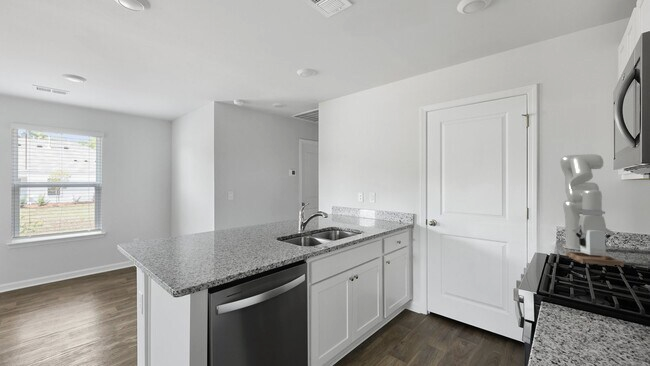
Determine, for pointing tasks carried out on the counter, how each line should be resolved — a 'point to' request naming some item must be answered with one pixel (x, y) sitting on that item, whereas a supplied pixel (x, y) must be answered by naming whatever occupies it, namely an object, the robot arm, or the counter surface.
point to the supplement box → (594, 243)
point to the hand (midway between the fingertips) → (592, 246)
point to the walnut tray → (594, 259)
